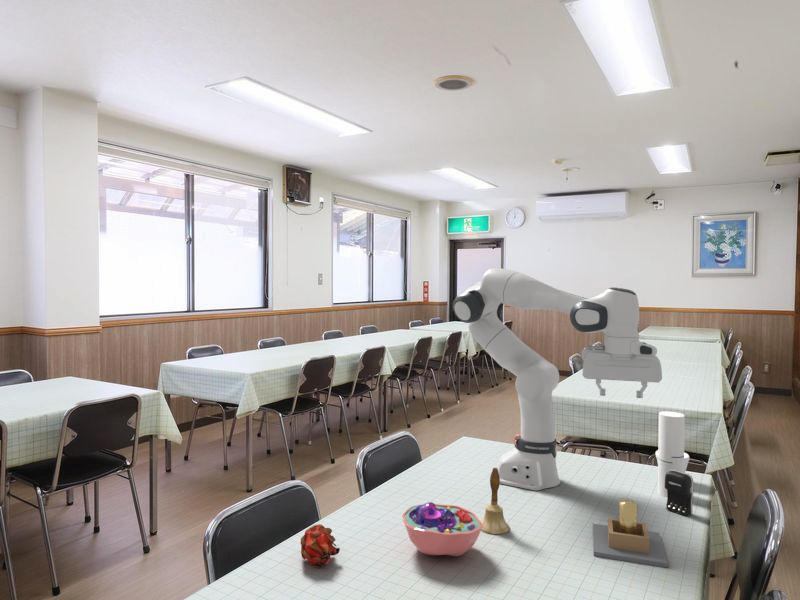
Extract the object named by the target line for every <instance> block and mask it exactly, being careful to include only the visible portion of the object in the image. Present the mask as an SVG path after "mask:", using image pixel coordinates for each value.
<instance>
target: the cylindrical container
mask: <svg viewBox="0 0 800 600" xmlns="http://www.w3.org/2000/svg"><path fill="white" fill-rule="evenodd" d="M685 417H686V416H685V414H684V413H680V412H676V411H665V410H664V411H659V412H658V439H657V440H658V447H657V448H658V449H657V450H658V462H657V467H658V468H657V493H658V495H660V496H662V497H664V498H667V489H665V475H666V473H667V472H669V471H671V470H677V471H680V472H684V453H685V430H686V429H685V425H686V424H685V423H686V421H685V419H686V418H685Z"/></svg>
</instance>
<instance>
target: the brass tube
mask: <svg viewBox="0 0 800 600" xmlns="http://www.w3.org/2000/svg"><path fill="white" fill-rule="evenodd" d="M618 506H619V511H618V512H619V516H618V517H619V533H625V534H632V535H637V522H638V502H637V501H635V500H633V499H630V498H621V499H619V505H618Z"/></svg>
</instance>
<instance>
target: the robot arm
mask: <svg viewBox="0 0 800 600" xmlns="http://www.w3.org/2000/svg"><path fill="white" fill-rule="evenodd" d="M504 305H506V306H509V307H511V308H514V309H519V310H527V311H534V310H540V311H541V310H551V311H557V312H561V313H564V314H567V315H569V320H570V323H571V325H572V327H573V328H574V329H575V330H577V331H578V332H581V333H585V334H591V333H592V334H594V333H599V332H603V335H604V336H603V337H604V338H603V339H604V341H603V343H604V344H603V345H587V346H585V347H583V348H582V349H581V355H580V356H581V360H582V361H583V364H582V365H583V366H582V376H583V378H584V379H585V380H587V379H588V380H595V384H596V386H597V388H598V389H599V396H603V397H604V396H605V397H606V388H603V387H602V386H601V384H602V380H603V381H618V382H619V381H622V382H625V381H626V382H638V383H639V382H640V385H641V388H640V389H639V390H636V394H635V395H636V398H637V399H643V396H644V392H645V391H646V389H647V387H648V383H656V384H657V383H660V382H662V380H663V375H662V374H663V372H662V369H663V368H662V363H661V360H660V359H659V357H658V356H656V355H657V353H658V349H657V347H656V346H654V345H652V344H650V343H647V342H644V341H640V334H639V330H638V328H639V327H638V326H639V323H640V306H639V299H638V295H637V294H636V293H635V291H633V290H631V289H627V288H622V287H609V288H607V289H606V290H604V292H603V291H602V292H601V293H600V294H597V295H596V296H593V297H589V298H587V297H584V296H579V295H576V294H573V293H569V292H566V291H564V290H561V289H558V288H555V287H553V286H551V285H548V284H547V283H544V282H542V281H540V280H538V279H535V278H534V277H531V276H530V275H526V274H524V273H522V272H519V271H515V270H511V269H507V268H506V269H505V268H500V267H493V268H489V269H488V270H486V271H485V272H484V274H483V276H482V277H481V280H480V281H478V282H476V283H474V284H472V285H471V286H470V287H469V288H468V287H467V289H465V290H464V291H462V292H461V293H459V294H458V295H456V297H455V298H454V300H453V303H452V310H453V312H454V315H455V317H456V318H457V319H458V320H460V321H461V322H463V323H465V324H468V329H469V332H470V333H471V335H472V336H473V339H474V340H475V341H476V342H477V343H478V344H479V346H480V347H481V348H482V349H483V350H484V351H485V353H487V354H488V355H489V356H490V357H491V359H493V360H494V361H495V362H496V363H497V364H498V365H499V366H500V367H501V368H502V369H505V370H507V371H509V372H510V373H511V374H513V375H514V376H515V377H516V378H515V383H514V385H515V390H516V392H517V399H518V403H519V411H520V434H519V433H517V434H516V435H514V447H512V448H511V449H510V450H508V451H507V452H505V453H503V454H502V455H500V458H499V460H498V461H497V462H498V463H497V467H496V468H497V469H498V473H499V476H500V484H499V485H506V486H511V487H515V488H516V487H517V488H521V489H526V490H531V491H540V490H542V489H549V488H553V487H557V486H558V485H560V484H561V480H560V477H559V472H558V469H557V468H558V466H557V455H558V444H557V439H556V414H555V411H554V410H555V409H554V404H553V397H552V395H553V391H554V390H555V389H556V388H557V387H558V385H559V384H560V383H559V382H560V372H559V369H558V368H557V367H556V365H554V364H553V363H552V362H550V361H548V360H547V359H546V358H544V357H543V356H542V355H540V354H539V353H538V352H537V351H535V350H534V349H532V348H531V347H529V346H528V345H527V344H526V343H524V342H523V341H522V340H521V339H520V338H519V336H517V335H516V334H515V333H514V332H513V331H512V330H511V329H510V328H509V327H508V326H507V325H506V324H504V322H502V321H501V320H500V318H499V317H498V313H497V312H501V311H502V310H503V308H504ZM491 473H492V471H491V472H490V474H491Z"/></svg>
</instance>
